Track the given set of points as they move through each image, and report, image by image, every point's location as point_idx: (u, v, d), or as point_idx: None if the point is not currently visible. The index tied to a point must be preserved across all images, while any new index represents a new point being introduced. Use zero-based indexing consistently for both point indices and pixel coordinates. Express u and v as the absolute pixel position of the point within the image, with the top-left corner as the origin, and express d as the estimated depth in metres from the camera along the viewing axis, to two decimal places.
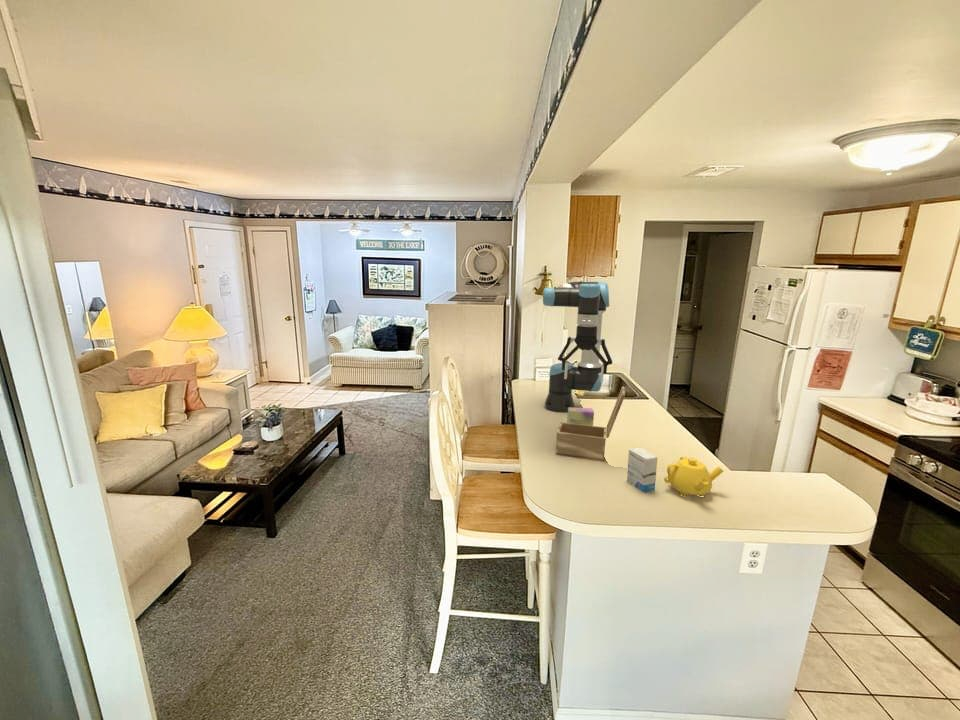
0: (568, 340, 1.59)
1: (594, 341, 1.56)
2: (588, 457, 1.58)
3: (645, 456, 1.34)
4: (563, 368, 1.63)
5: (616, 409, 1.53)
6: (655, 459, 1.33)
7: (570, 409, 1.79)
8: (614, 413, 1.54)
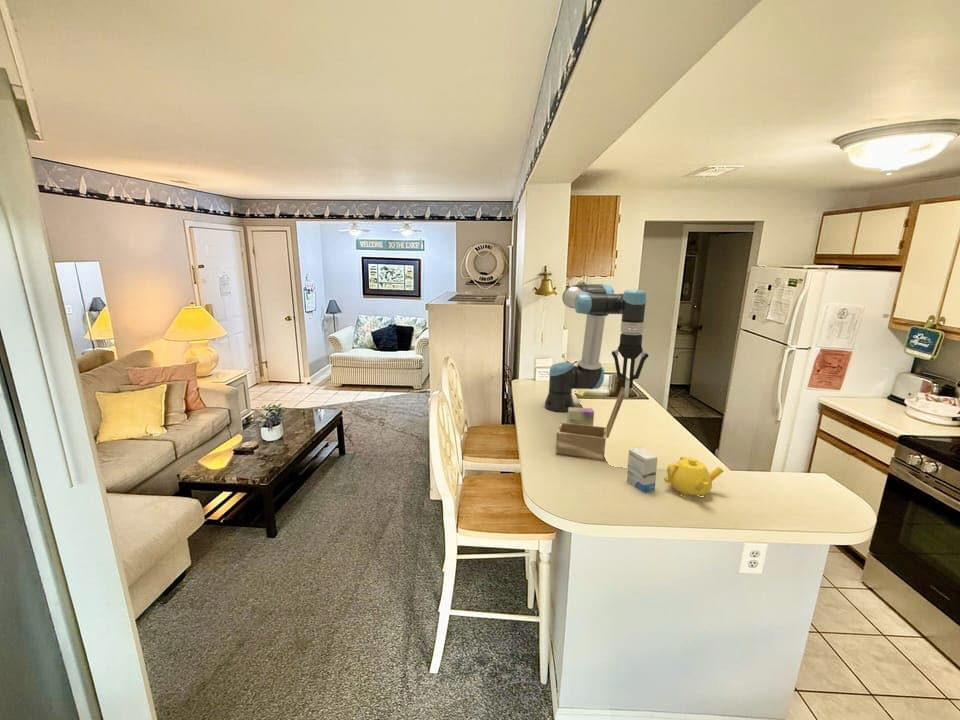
0: (613, 355, 1.52)
1: (639, 350, 1.50)
2: (588, 457, 1.58)
3: (645, 456, 1.34)
4: (623, 385, 1.54)
5: (616, 409, 1.53)
6: (655, 459, 1.33)
7: (570, 409, 1.79)
8: (614, 413, 1.55)
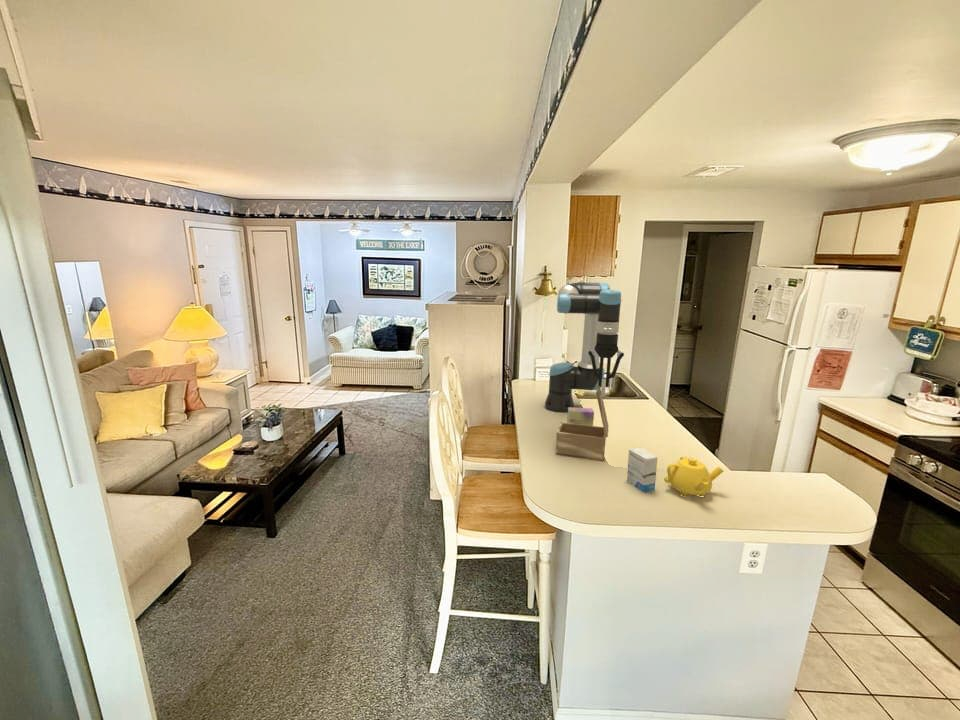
0: (590, 354, 1.55)
1: (615, 349, 1.52)
2: (588, 457, 1.58)
3: (645, 456, 1.34)
4: (599, 384, 1.57)
5: None
6: (655, 459, 1.33)
7: (570, 409, 1.79)
8: None
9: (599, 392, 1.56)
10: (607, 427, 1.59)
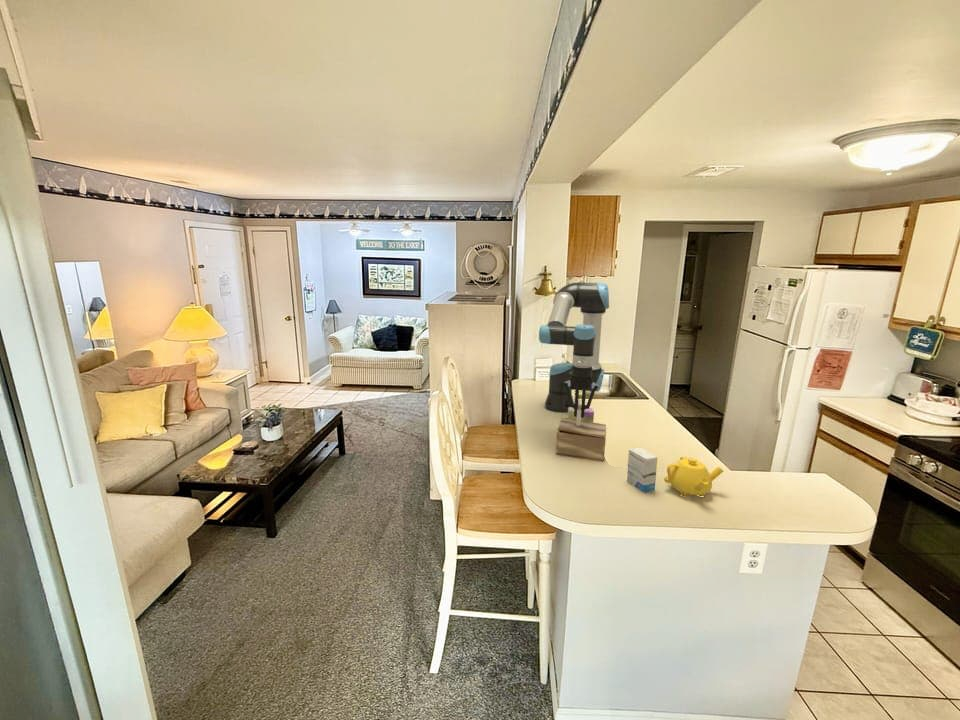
0: (566, 385, 1.60)
1: (589, 382, 1.57)
2: (588, 457, 1.58)
3: (645, 456, 1.34)
4: (575, 415, 1.62)
5: None
6: (655, 459, 1.33)
7: (570, 409, 1.79)
8: None
9: (562, 424, 1.63)
10: (601, 429, 1.60)
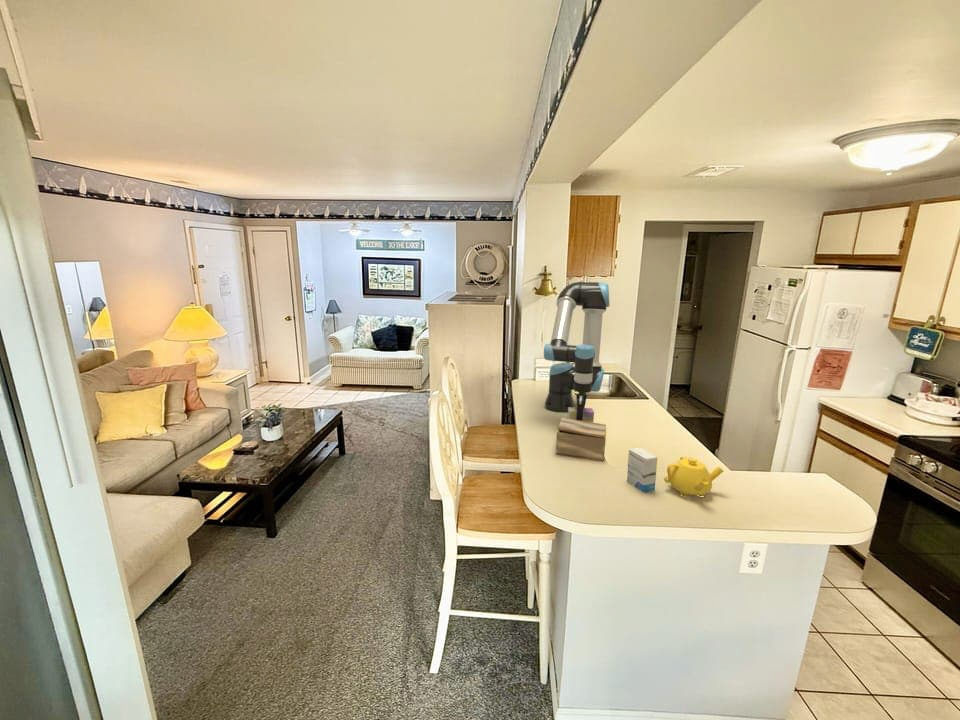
0: None
1: None
2: (588, 457, 1.58)
3: (645, 456, 1.34)
4: None
5: None
6: (655, 459, 1.33)
7: (570, 409, 1.79)
8: None
9: (562, 424, 1.63)
10: (601, 429, 1.60)
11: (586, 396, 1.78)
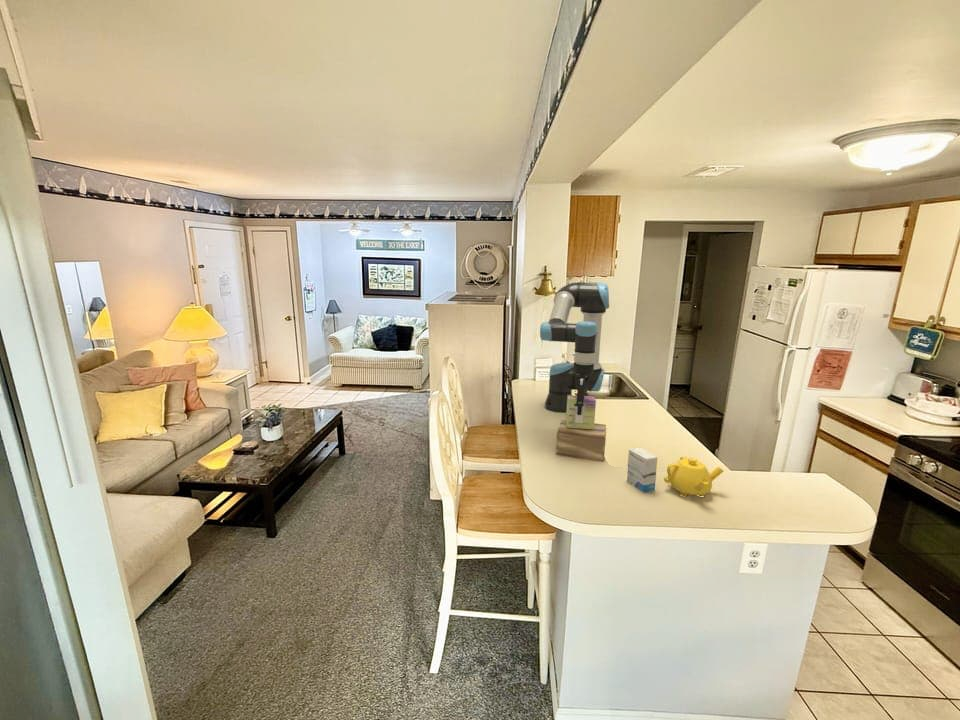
0: None
1: (579, 379, 1.56)
2: (588, 457, 1.58)
3: (645, 456, 1.34)
4: None
5: None
6: (655, 459, 1.33)
7: (569, 397, 1.61)
8: None
9: (562, 426, 1.63)
10: (600, 429, 1.60)
11: (588, 379, 1.59)
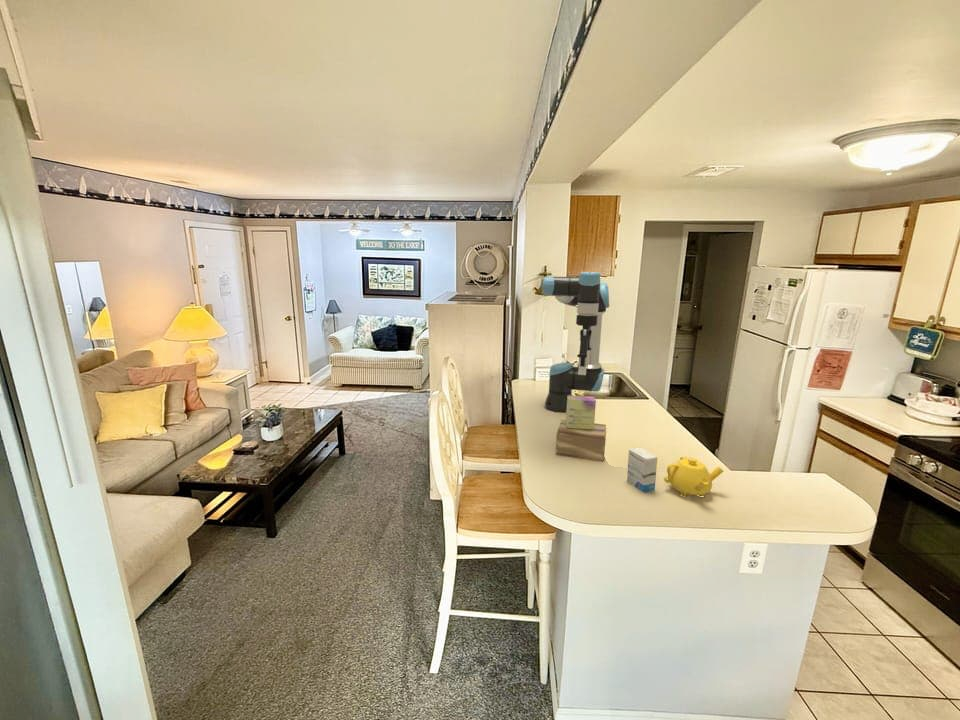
0: None
1: None
2: (588, 457, 1.58)
3: (645, 456, 1.34)
4: None
5: None
6: (655, 459, 1.33)
7: (569, 397, 1.61)
8: None
9: (562, 426, 1.63)
10: (600, 429, 1.60)
11: (591, 332, 1.55)
